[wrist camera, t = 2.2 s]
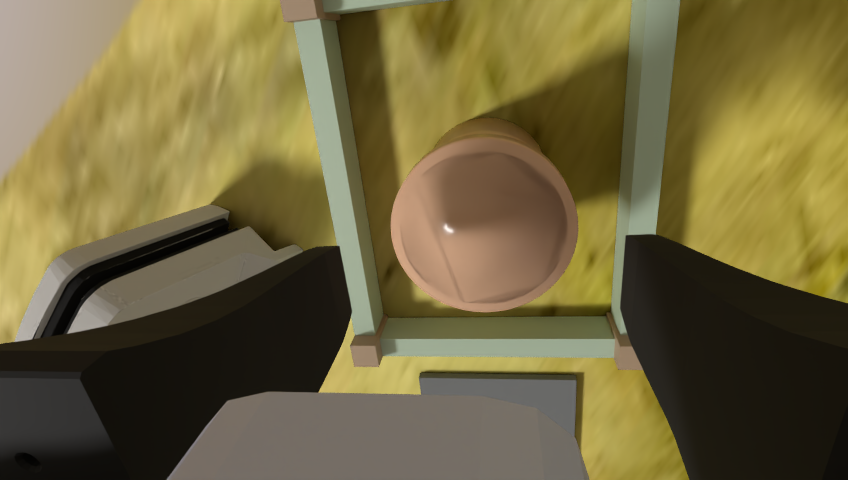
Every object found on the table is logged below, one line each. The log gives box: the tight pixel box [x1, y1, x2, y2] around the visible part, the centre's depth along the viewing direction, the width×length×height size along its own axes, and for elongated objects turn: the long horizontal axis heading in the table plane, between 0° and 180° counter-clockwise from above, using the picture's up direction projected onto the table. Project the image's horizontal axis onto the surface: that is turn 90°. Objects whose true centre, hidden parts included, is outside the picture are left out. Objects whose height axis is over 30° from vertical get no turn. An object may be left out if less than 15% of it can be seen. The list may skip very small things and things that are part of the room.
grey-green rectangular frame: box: [280, 0, 680, 370], centre depth 18 cm, size 13×16×3 cm
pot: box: [391, 118, 578, 312], centre depth 17 cm, size 6×6×6 cm
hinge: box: [15, 204, 303, 342], centre depth 22 cm, size 17×5×10 cm, turn 156°
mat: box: [419, 373, 577, 437], centre depth 25 cm, size 8×7×1 cm
